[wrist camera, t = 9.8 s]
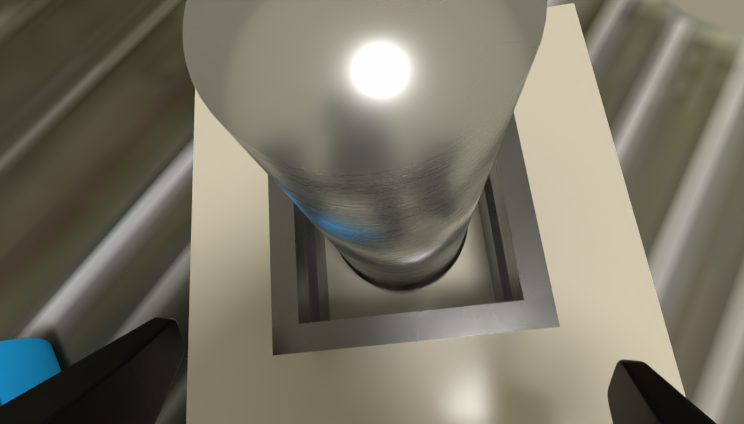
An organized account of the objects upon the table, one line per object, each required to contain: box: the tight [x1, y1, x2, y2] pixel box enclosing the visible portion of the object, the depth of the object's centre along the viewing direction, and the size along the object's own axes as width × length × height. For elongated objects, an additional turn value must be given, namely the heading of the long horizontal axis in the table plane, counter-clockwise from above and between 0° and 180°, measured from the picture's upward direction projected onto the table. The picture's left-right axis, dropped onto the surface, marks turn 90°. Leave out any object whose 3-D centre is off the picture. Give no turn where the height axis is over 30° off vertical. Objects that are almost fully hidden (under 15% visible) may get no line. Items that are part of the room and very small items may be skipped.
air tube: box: [183, 0, 547, 295], centre depth 11 cm, size 5×5×13 cm
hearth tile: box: [186, 3, 686, 424], centre depth 18 cm, size 20×18×1 cm
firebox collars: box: [268, 112, 560, 355], centre depth 15 cm, size 8×8×5 cm
